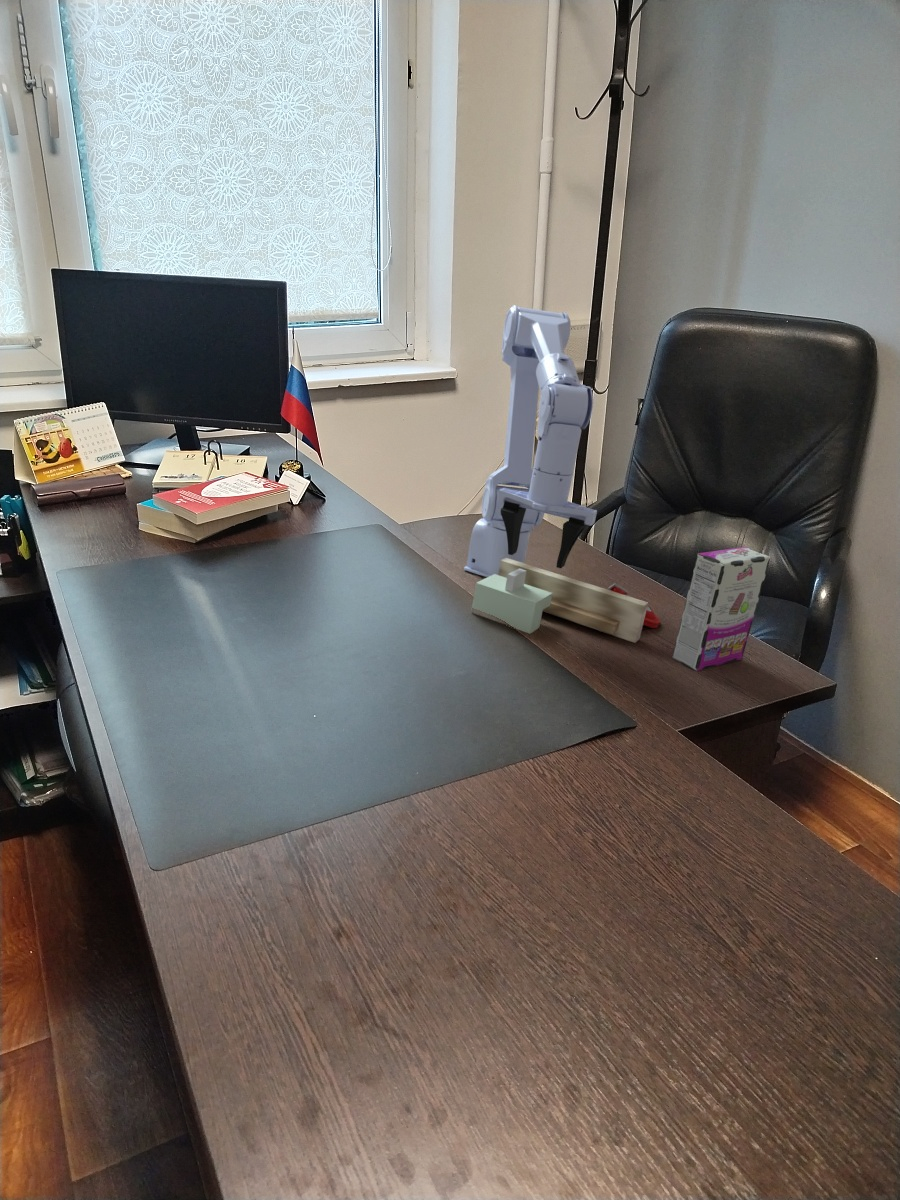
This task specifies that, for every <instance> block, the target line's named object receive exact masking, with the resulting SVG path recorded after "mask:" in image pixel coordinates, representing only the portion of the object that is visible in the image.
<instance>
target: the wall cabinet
mask: <svg viewBox="0 0 900 1200" xmlns="http://www.w3.org/2000/svg"><path fill="white" fill-rule="evenodd" d="M525 576H526V570H523V569H520V568H519V569H517V570H515V571H513V572H511V573H509V574H508V575H507V578H505V577H502V576H499V575H496V574H493V575H491V576H489V577H484V578H483V579H481V580H479V581H477V582H476V583H475V587H474V591H473V592H474V593H473V598H472V604H471V609H472V608H474V609H477V610H480V611H482V612H485V613H487V614H490V615H493V616H495V617H497V618H499V619H501V620H503V621H505V622H506V623H508V624H510V625H512V626H513V627H515V628H516V630H518V631H521V632H523V633H526V634H529V635H530V634H532V633H534V632H535V631H537V630H538V629H539V628H540V626H541V622H542V621H541V620H542V615H543V609H545V608H547V607H548V606H550V603H551V599H552V594H553V593H551V592H548V591H545V590H542V589H539V588H536V587H533V586H530V585H526V584H524V582H525ZM515 628H514V629H515Z"/></svg>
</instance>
